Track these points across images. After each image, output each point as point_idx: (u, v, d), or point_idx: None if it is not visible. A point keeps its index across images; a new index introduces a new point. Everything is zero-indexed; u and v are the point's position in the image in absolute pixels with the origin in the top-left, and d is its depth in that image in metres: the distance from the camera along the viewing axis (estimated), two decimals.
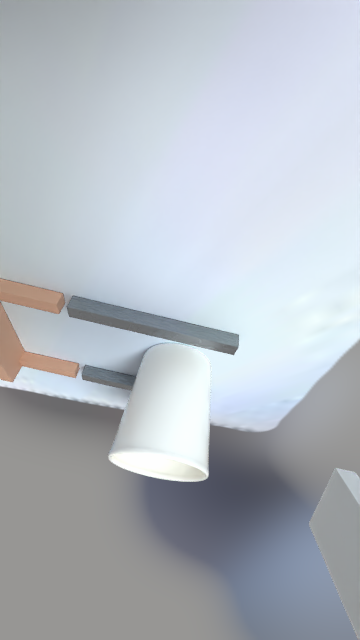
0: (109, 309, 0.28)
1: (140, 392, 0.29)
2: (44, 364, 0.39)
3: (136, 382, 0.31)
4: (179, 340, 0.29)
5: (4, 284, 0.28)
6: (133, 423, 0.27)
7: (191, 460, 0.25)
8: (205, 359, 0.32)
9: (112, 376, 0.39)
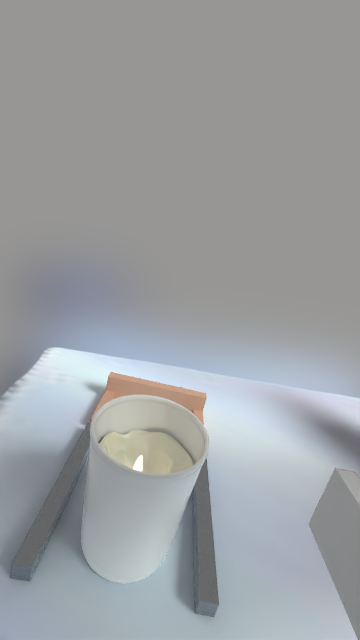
0: None
1: None
2: None
3: None
4: (200, 528, 0.27)
5: None
6: None
7: (202, 464, 0.21)
8: (157, 567, 0.24)
9: (88, 451, 0.34)
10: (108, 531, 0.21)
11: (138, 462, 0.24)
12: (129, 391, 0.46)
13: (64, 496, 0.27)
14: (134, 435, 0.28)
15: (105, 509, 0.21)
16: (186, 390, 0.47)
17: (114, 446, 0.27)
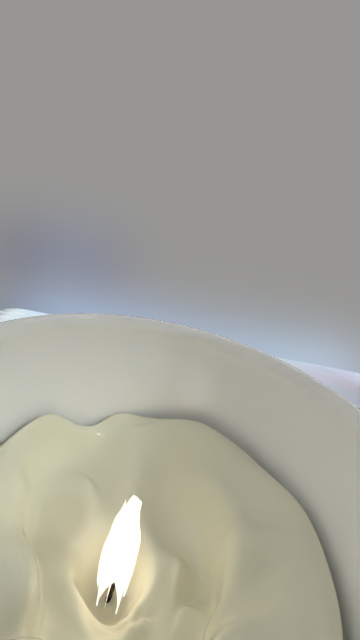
0: None
1: None
2: None
3: None
4: None
5: None
6: None
7: None
8: None
9: None
10: None
11: (125, 523, 0.07)
12: None
13: None
14: (117, 429, 0.11)
15: None
16: None
17: (58, 459, 0.09)
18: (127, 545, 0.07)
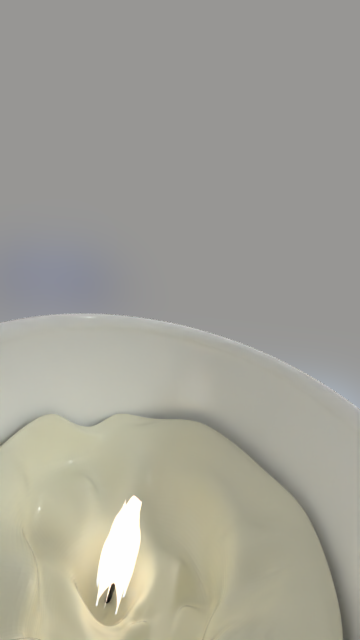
0: None
1: None
2: None
3: None
4: None
5: None
6: None
7: None
8: None
9: None
10: None
11: (124, 523, 0.07)
12: None
13: None
14: (117, 429, 0.11)
15: None
16: None
17: (58, 459, 0.09)
18: (127, 545, 0.07)
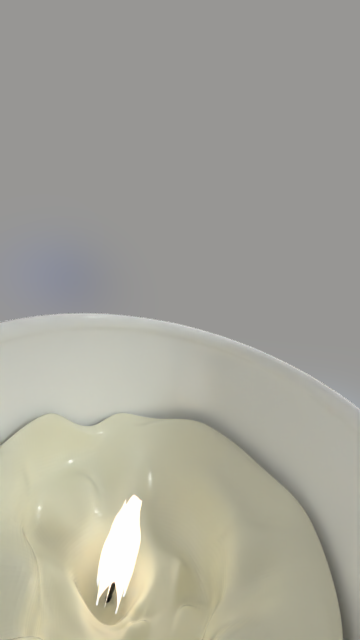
0: None
1: None
2: None
3: None
4: None
5: None
6: None
7: None
8: None
9: None
10: None
11: (125, 523, 0.07)
12: None
13: None
14: (117, 429, 0.11)
15: None
16: None
17: (58, 459, 0.09)
18: (127, 545, 0.07)
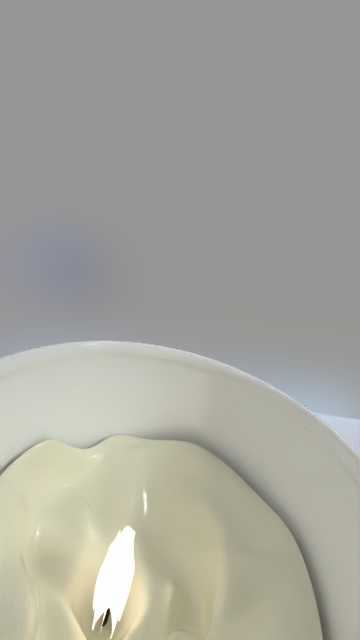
0: None
1: None
2: None
3: None
4: None
5: None
6: None
7: None
8: None
9: None
10: None
11: (119, 553, 0.07)
12: None
13: None
14: (114, 451, 0.11)
15: None
16: None
17: (56, 483, 0.10)
18: (121, 573, 0.07)
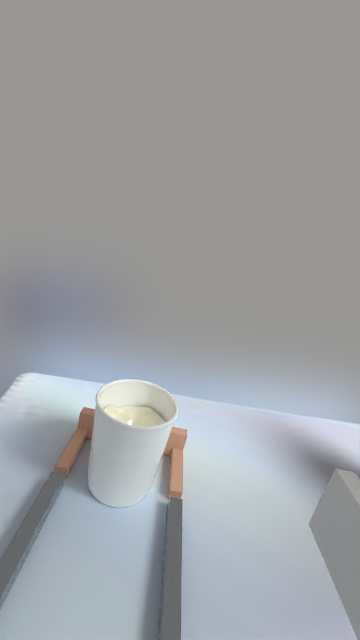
0: None
1: None
2: (79, 446, 0.39)
3: None
4: (166, 614, 0.24)
5: None
6: None
7: (171, 423, 0.32)
8: (141, 498, 0.34)
9: (48, 510, 0.30)
10: (107, 468, 0.32)
11: None
12: None
13: (9, 578, 0.24)
14: (126, 409, 0.38)
15: (105, 452, 0.31)
16: None
17: (111, 416, 0.37)
18: None
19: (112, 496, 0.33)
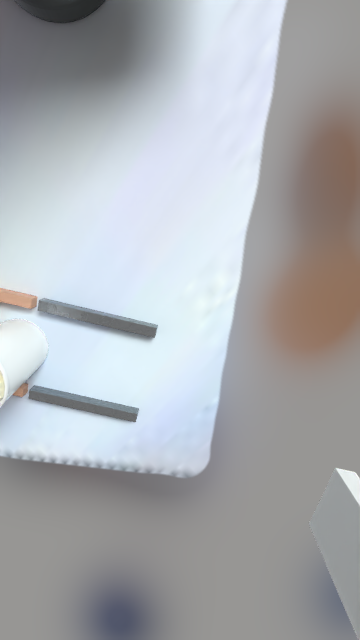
0: (68, 305, 0.41)
1: None
2: None
3: None
4: (116, 326, 0.41)
5: None
6: None
7: None
8: (40, 331, 0.42)
9: (57, 393, 0.45)
10: (29, 375, 0.39)
11: None
12: None
13: (98, 405, 0.44)
14: None
15: (20, 385, 0.37)
16: None
17: None
18: None
19: (44, 356, 0.42)
